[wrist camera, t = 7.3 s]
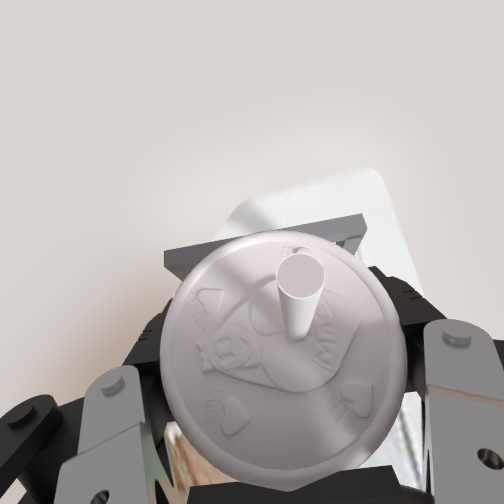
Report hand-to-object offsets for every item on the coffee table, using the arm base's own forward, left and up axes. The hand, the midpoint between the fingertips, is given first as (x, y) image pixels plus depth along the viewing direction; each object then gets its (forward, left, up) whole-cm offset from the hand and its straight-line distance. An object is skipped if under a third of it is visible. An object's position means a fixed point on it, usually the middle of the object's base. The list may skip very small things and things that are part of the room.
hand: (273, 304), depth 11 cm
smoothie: (0, -2, -7) cm, 7 cm away
